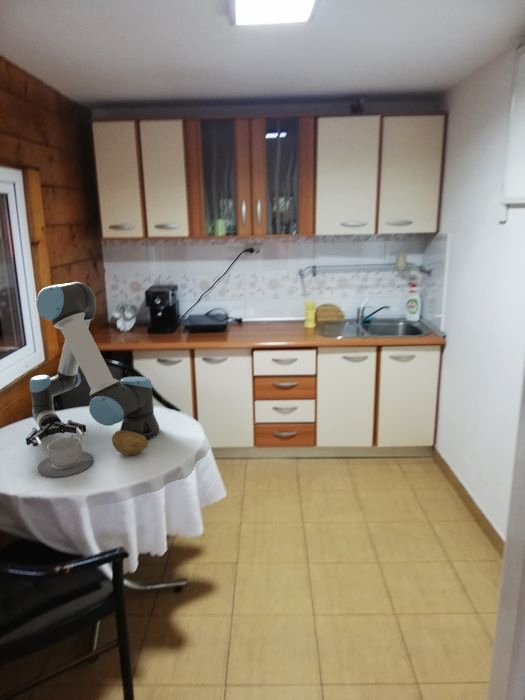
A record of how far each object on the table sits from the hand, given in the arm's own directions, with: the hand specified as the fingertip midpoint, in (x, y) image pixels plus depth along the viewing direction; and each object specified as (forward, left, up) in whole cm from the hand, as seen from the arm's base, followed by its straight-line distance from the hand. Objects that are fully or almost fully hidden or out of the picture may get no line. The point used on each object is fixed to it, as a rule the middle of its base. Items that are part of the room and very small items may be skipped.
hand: (61, 442), depth 170 cm
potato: (-20, -10, -8) cm, 24 cm away
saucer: (-1, +1, -8) cm, 8 cm away
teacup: (-2, +1, -7) cm, 8 cm away
